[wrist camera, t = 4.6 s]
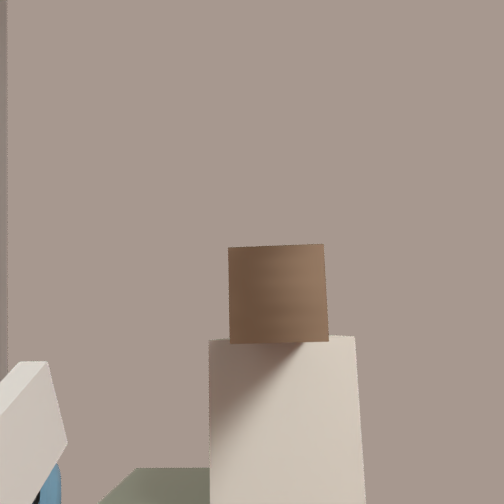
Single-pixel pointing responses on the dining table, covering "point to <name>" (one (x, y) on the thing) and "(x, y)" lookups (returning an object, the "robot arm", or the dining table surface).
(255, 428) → the step stand
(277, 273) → the walnut bar
